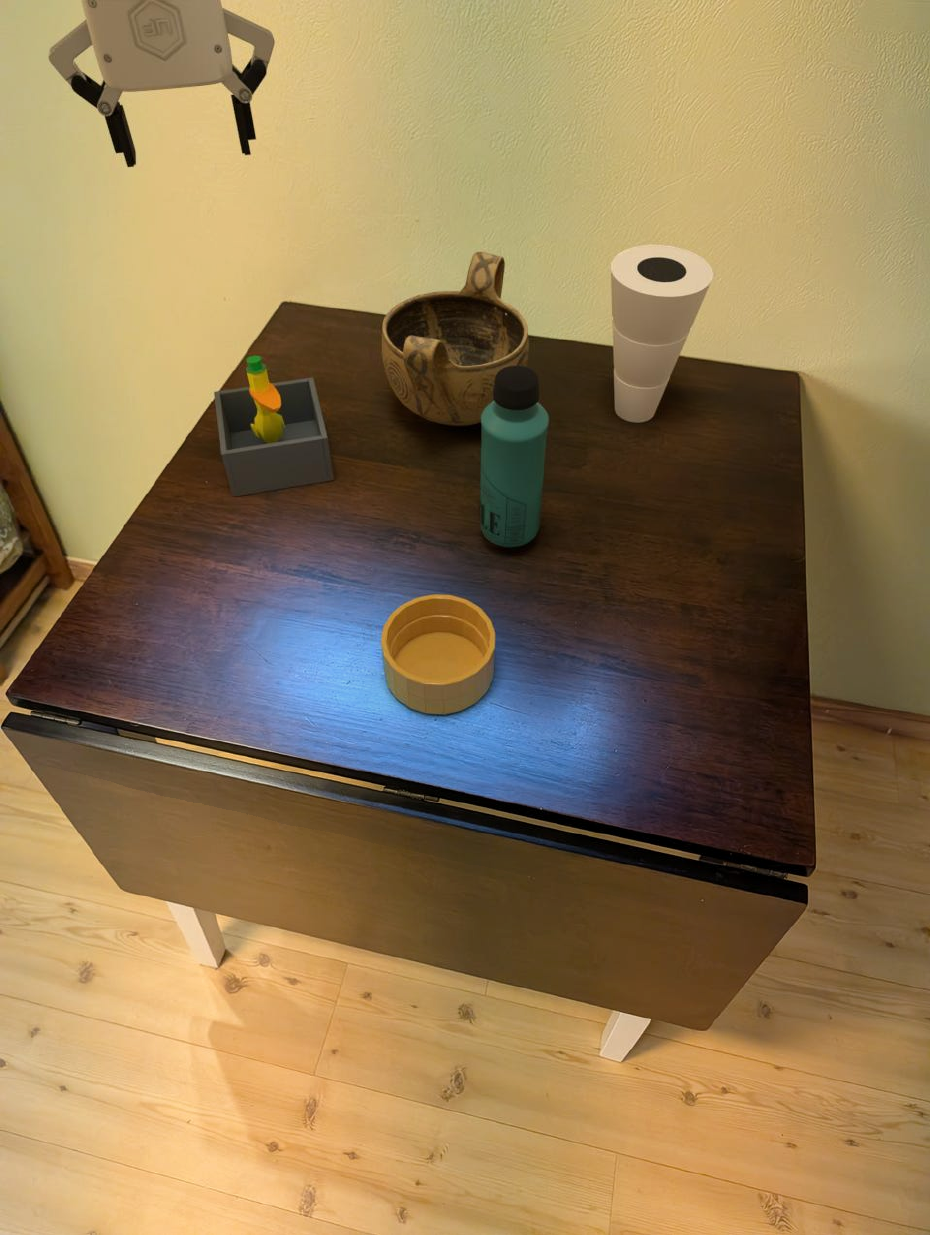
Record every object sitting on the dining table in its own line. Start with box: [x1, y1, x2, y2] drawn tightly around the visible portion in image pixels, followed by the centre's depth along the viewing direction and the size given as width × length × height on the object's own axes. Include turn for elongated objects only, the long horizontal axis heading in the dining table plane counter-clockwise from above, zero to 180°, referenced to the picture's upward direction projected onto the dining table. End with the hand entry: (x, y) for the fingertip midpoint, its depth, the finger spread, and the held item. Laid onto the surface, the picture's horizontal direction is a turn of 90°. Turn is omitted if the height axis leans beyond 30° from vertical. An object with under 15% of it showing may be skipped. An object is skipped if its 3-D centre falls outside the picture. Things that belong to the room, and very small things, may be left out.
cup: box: [610, 244, 714, 423], centre depth 96 cm, size 11×11×18 cm
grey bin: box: [213, 377, 335, 498], centre depth 95 cm, size 11×11×6 cm
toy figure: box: [245, 355, 285, 444], centre depth 92 cm, size 7×4×12 cm, turn 33°
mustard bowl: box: [380, 593, 496, 715], centre depth 76 cm, size 10×10×5 cm
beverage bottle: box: [478, 366, 550, 548], centre depth 81 cm, size 6×7×20 cm
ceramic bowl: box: [381, 251, 530, 427], centre depth 97 cm, size 22×17×15 cm
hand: (189, 154), depth 73 cm, fingers open, 9 cm apart
